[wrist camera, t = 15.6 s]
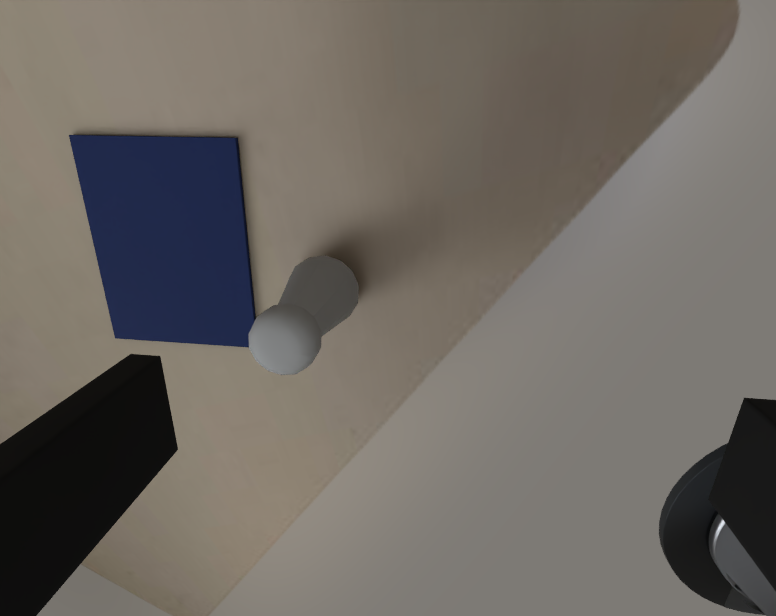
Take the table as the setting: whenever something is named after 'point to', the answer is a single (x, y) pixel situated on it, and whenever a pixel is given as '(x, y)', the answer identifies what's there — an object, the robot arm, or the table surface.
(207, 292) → the cloth
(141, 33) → the table surface
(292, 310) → the salt shaker
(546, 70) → the table surface
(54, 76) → the table surface
